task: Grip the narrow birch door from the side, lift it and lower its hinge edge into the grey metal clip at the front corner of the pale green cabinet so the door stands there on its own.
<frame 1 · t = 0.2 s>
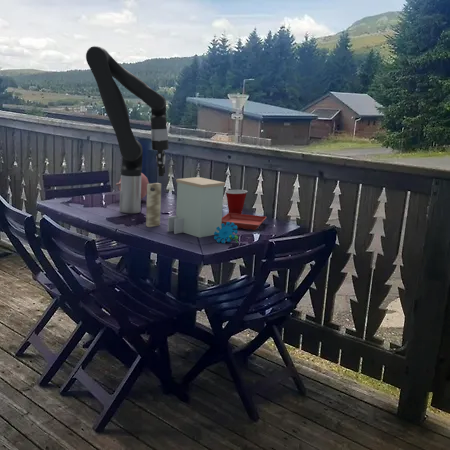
hand: (162, 174, 245), 18 cm above the table, tool pointing down, fingers open, 8 cm apart
balloon: (130, 201, 273), on the table
gear: (226, 242, 207), on the table
cabinet: (176, 231, 218), on the table
plant saucer: (242, 225, 237), on the table
plastic cup: (234, 215, 256), on the table
door: (153, 225, 225), on the table
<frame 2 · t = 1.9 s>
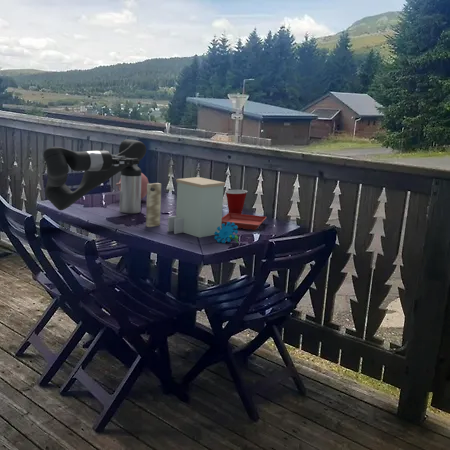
hand: (132, 159, 211), 28 cm above the table, tool horizontal, fingers open, 8 cm apart
nothing on the table moved.
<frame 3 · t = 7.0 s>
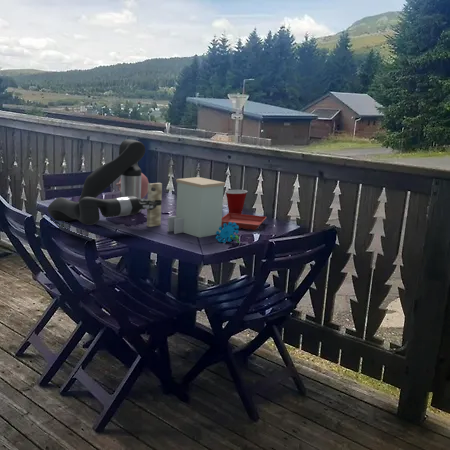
hand: (159, 202, 225), 10 cm above the table, tool horizontal, fingers closed on door
door: (153, 225, 225), on the table, touching gripper
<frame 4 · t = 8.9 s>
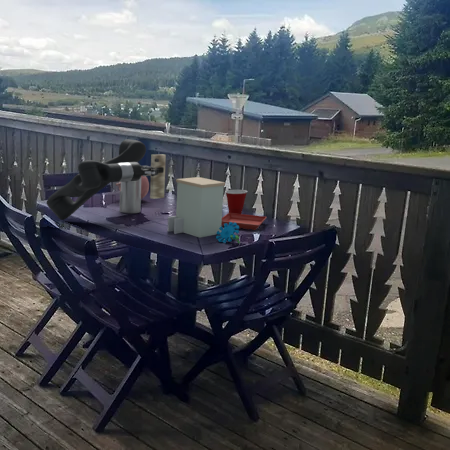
hand: (161, 169, 221), 24 cm above the table, tool horizontal, fingers closed on door
door: (157, 198, 222), point 12 cm above the table, touching gripper
everything else where it was.
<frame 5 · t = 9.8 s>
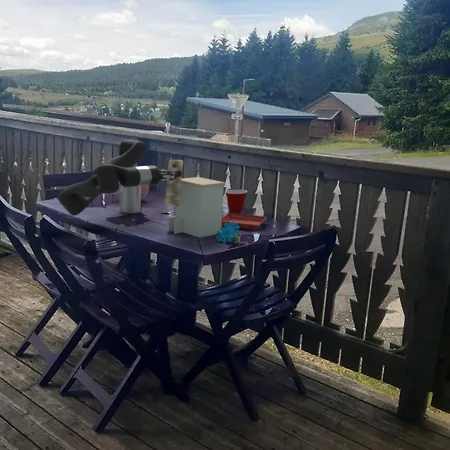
hand: (179, 173, 213), 24 cm above the table, tool horizontal, fingers closed on door
door: (172, 205, 214), point 11 cm above the table, touching cabinet, gripper
everything else where it was.
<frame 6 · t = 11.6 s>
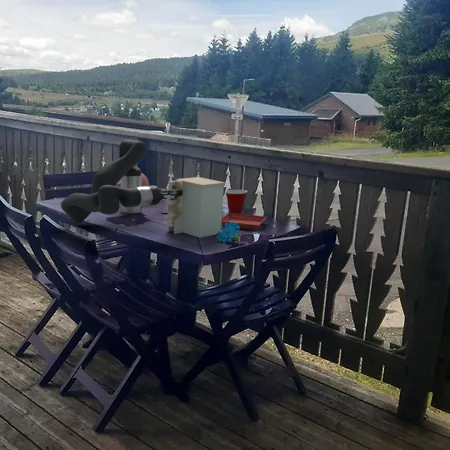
hand: (180, 192, 214), 16 cm above the table, tool horizontal, fingers closed on door
door: (174, 225, 216), point 3 cm above the table, touching cabinet, gripper
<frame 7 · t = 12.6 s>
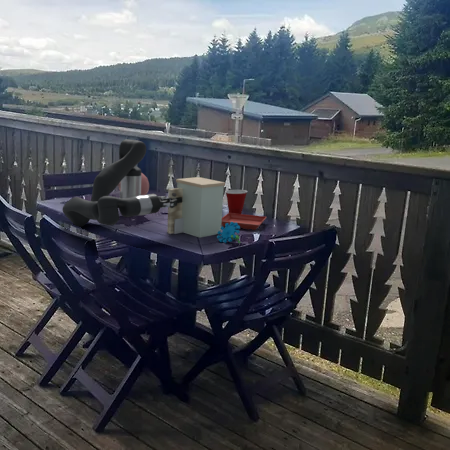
hand: (179, 199, 215), 13 cm above the table, tool horizontal, fingers closed on door
door: (174, 232, 217), on the table, touching cabinet, gripper
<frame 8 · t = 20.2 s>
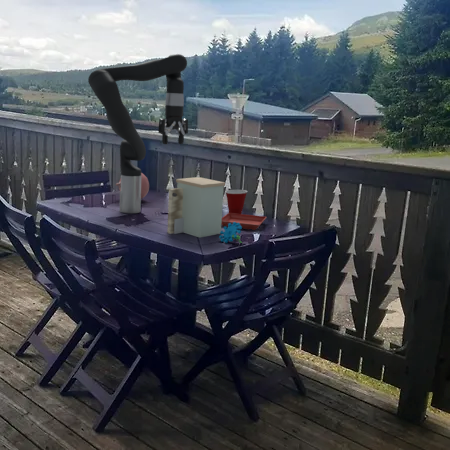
hand: (173, 144, 224), 34 cm above the table, tool pointing down, fingers open, 8 cm apart
door: (174, 232, 217), on the table
at the end: door 0.6 cm from the target spot on the cabinet, point 0.0 cm above the cabinet's base; door tilted 0°; the gripper is holding nothing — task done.
